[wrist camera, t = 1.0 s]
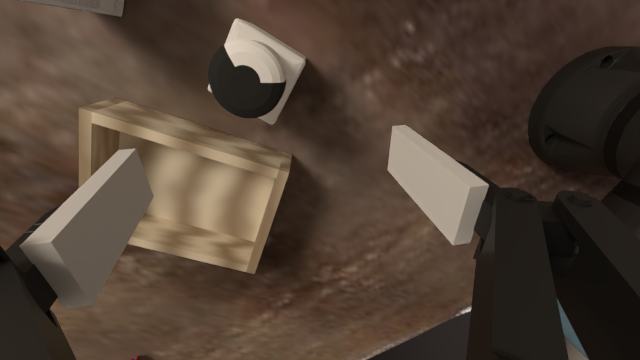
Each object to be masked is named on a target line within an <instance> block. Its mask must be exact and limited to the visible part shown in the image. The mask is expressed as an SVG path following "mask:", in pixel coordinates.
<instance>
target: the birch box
mask: <svg viewBox="0 0 640 360" xmlns="http://www.w3.org/2000/svg"><path fill="white" fill-rule="evenodd" d="M125 149H136V150H137V153H138V155H139V158H140V161H141V163H142V166H143V169H144V171H145V174H146V177H147V179H148V182H149V185H150V187H151V190H152V193H153V195H154V197H153V199H152V201H151V203H150V204H149V206H148V208H147V210H146V211H145V213H144V215H143V217H142V218H141V220H140V222H139V224H138V225H137V227H136V229H135V231H134V233H133V234H132V236H131V238H130V240H129V241H128V243H127V244H131V245H135V246H140V247H144V248H148V249H152V250H156V251H160V252H165V253H169V254H173V255H177V256H181V257H186V258H190V259H194V260H198V261H202V262H206V263H211V264H215V265H219V266H223V267H227V268H231V269H236V270H240V271H244V272H248V273H252V274H255V272H256V269H257V266H258V263H259V260H260V257H261V254H262V251H263V248H264V245H265V242H266V239H267V236H268V234H269V231H270V228H271V225H272V222H273V219H274V216H275V213H276V210H277V207H278V204H279V201H280V198H281V195H282V193H283V190H284V187H285V184H286V181H287V178H288V175H289V171H290V165H291V159H292V154H290V153H286V152H283V151H280V150H277V149H274V148H271V147H268V146H265V145H262V144H259V143H255V142H252V141H249V140H246V139H243V138H240V137H237V136H234V135H231V134H227V133H224V132H221V131H218V130H215V129H212V128H209V127H206V126H203V125H199V124H196V123H193V122H190V121H187V120H184V119H181V118H178V117H175V116H172V115H168V114H165V113H162V112H159V111H156V110H153V109H150V108H147V107H144V106H140V105H137V104H134V103H131V102H128V101H125V100H122V99H119V98H113V99H109V100H105V101H102V102H98V103H94V104H91V105H87V106H83V107H80V108H79V188H80V187H81V186H82V185H83V184H84V183H85V182H86V181H87V180H88V179H89V178H90V177H91V176H92V175H93V174H94V173H95V172H96V171H97V170H98V169H99V168H100V167H102V166H103V165H104V164H105V163H106V162H107V161H108V160H109V159H110V158H111V157H112V156H113V155H114V154H115V153H116V152H117V151H118V150H125Z"/></svg>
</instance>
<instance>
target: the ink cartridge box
mask: <svg viewBox="0 0 640 360" xmlns="http://www.w3.org/2000/svg"><path fill="white" fill-rule="evenodd" d="M18 1H24V2H31V3H37V4H43V5H49V6H56V7H62V8H68V9H75V10H81V11H88V12H94V13H100V14H107V15H112V16H118V17H121V16H122V14H123V7H124V0H18Z"/></svg>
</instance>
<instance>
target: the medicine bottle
mask: <svg viewBox="0 0 640 360" xmlns="http://www.w3.org/2000/svg"><path fill="white" fill-rule="evenodd" d="M305 63H306V57H305V56H304V55H302V54H301V53H299V52H298V51H296V50H294V49H293V48H291V47H289V46H288V45H286V44H285V43H283V42H281V41H280V40H278V39H277V38H275V37H273V36H272V35H270V34H269V33H267V32H265V31H264V30H262V29H261V28H259V27H257V26H256V25H254V24H252V23H249V22H247V21H244V20H241V19H238V18H237V19H235V20H234V22H233V24H232V27H231V30H230V32H229V35H228V37H227V40H226V42H225V44H224V45H223V46H221V47H220V48H219V49H218V50H217V51H216V52H215V54H214V55H213V57H212V59H211V62H210V65H209V71H208V78H209V85H208V91H210V92H211V93H213V95H214V97H215V98H216V100H217V101H218V102H219V104H220V105H221V106H222V107H223V108H225V109H226V110H227V111H229V112H230V113H232V114H234V115H236V116H239V117H243V118H257V117H258V118H260V119H261V120H263V121H265V122H267V123H269V124H271V125H273V124H274V123H275V122H276V120H277V118H278V116H279V114H280V112H281V110H282V108H283V107H284V105H285V103H286V101H287V99H288V97H289V95H290V93H291V91H292V89H293V87H294V85H295V83H296V81H297V79H298V77H299V75H300V74H301V72H302V70H303V68H304V66H305Z"/></svg>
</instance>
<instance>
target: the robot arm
mask: <svg viewBox="0 0 640 360" xmlns="http://www.w3.org/2000/svg"><path fill="white" fill-rule="evenodd" d="M528 136H529V141H530V144H531V147H532V149H533V150H534V152H535V153H536V154H537V155H538V156H539V157H540V158H541V159H542V160H544V161H546V162H547V163H549V164H552V165H554V166H556V167H558V168H560V169H563V170H566V171H571V172H579V173H588V174H596V175H604V176H613V177H617V178H619V179H622V180H621V181H620V182H619V183H618V184H617V185H616V186H615V187H614V189H613V190H612V191H610V192H609V193H608V194H607V195H606V196H605V197H604V198H603V199H602V200H601V201H599V200H597V199H595V198H593V197H591V196H590V195H588V194H585V193H584V194H583V193H582V192H574V191H561V192H559V193H558V194H557V196H556V198H555V200H554V202H545V201H538V200H537V199H536V197H534V196H533V195H532V194H530V193H528V192H526V191H523V190H520V189H516V188H509V187H508V188H500V187H499V186H497V185H496V184H494V183H493V182H491V181H490V180H488V179H487V178H486V177H484V176H483V175H482V176H481V174H480V173H478V172H477V171H475V170H474V169H473V168H471V167H470V166H468V165H467V164H464V163H462V162H459V161H457V160H454V159H452V158H451V157H450V156H448V155H447V154H445V153H444V152H443V151H441V150H440V149H438V148H437V147H436V146H434V145H433V144H431V143H430V142H429V141H427V140H426V139H424V138H423V137H422V136H420V135H419V134H417V133H416V132H415V131H413V130H412V129H410V128H409V127H408V126H406V125H400V126H393V127H392V136H391V145H390V153H389V162H388V171H389V172H390V173H391V175H392V176H393V177H394V178H395V179H396V180H397V181H398V183H399V184H400V185H401V186H402V187H403V188H404V190H405V191H406V192H407V193H408V194H409V195H410V196H411V198H412V199H413V200H414V201H415V202H416V203H417V205H418V206H419V207H420V208H421V209H422V210H423V211H424V213H425V214H426V215H427V216H428V217H429V218H430V220H431V221H432V222H433V223H434V224H435V225H436V226H437V228H438V229H439V230H440V231H441V232H442V233H443V235H444V236H445V237H446V238H447V239H448V240H449V241H450V243H451V244H452V245H459V244H465V243H470V241H471V238H472V235H473V232H474V231H475V232H476V233H477V234H478V235H479V236H480V240H479V243H478V246H477V249H476V251H475V254H474V257H473V258H474V259H476V269H475V279H474V289H473V298H472V308H471V318H470V329H469V337H468V347H467V357H466V360H568V354H567V349H566V343H565V339H564V336H565V337H566V338H567V339H568V340H569V341H570V342H571V343H572V344H573V346H575V348H576V349H577V350H578V351H580V352H581V353H582V354H583V355H584V356H585V357H586V358H587V359H588V360H640V207H639V206H640V47H625V46H613V47H604V48H600V49H596V50H593V51H591V52H588V53H586V54H584V55H582V56H580V57H578V58H576V59H574V60H573V61H571V62H570V63H568V64H567V65H566V66H564V67H563V68H562V69H561V70H560V71H559V72H557V73H556V74H555V75H554V76H553V77H552V78H551V80H550V81H549V82H548V83H547V84H546V86H545V87H544V88H543V90H542V91H541V93H540V94H539V96H538V98H537V100H536V102H535V104H534V106H533V108H532V111H531V114H530V118H529V125H528ZM153 197H154V195H153V193H152V190H151V187H150V185H149V182H148V179H147V177H146V174H145V171H144V169H143V166H142V163H141V161H140V158H139V155H138V153H137V150H136V149H125V150H118V151H117V152H116V153H115V154H114V155H113V156H112V157H111V158H110V159H109V160H108V161H107V162H106V163H105V164H104V165H103V166H102V167H100V168H99V169H98V170H97V171H96V172H95V173H94V174H93V175H92V176H91V177H90V178H89V179H88V180H87V181H86V182H85V183H84V184H83V185H82V186H81V187H80V188H79V189H78V190H77V191H76V192H75V193H74V194H73V195H72V196H71V197H70V198H68V199H67V200H66V201H65V202H64V203H63V204H62V205H59V206H58V207H56V208H54V209H53V210H51V211H49V212H48V213H46V214H44V215H43V216H42V217H41V218H40V219H39V220H38V221H37V222H36V223H35V225H33V226H32V227H31V228H29V229H28V230H27V233H24V234H23V235H22V236H21V237H20V238H19V239H18V240H17V241H16V242H14V243H13V244H12V245H11V246H10V247H9V248H8V249H7V250H6V251H4V250H3V248H2V247H1V246H0V360H76V358H75V356H74V354H73V352H72V350H71V348H70V345H69V343H68V341H67V339H66V337H65V335H64V333H63V331H62V329H61V327H60V325H59V323H58V321H57V318H56V316H55V315H54V313H53V312H52V311H51V310H50V307H51V306H52V304H53V303H54V301H55V300H56V299H57V298H58V299H59V300H60V302H61V303H62V305H63V306H64V307H65V309H72V308H78V307H84V306H90V305H93V303H94V301H95V300H96V298H97V296H98V294H99V293H100V291H101V289H102V287H103V286H104V284H105V282H106V280H107V278H108V277H109V275H110V273H111V271H112V270H113V268H114V266H115V264H116V263H117V261H118V259H119V257H120V256H121V254H122V252H123V250H124V248H125V247H126V245H127V243H128V241H129V240H130V238H131V236H132V234H133V233H134V231H135V229H136V227H137V225H138V224H139V222H140V220H141V218H142V217H143V215H144V213H145V211H146V210H147V208H148V206H149V204H150V203H151V201H152V199H153ZM629 201H630V202H629ZM631 202H632V203H631ZM633 203H634V204H633ZM635 204H636V205H635ZM637 205H638V206H637Z"/></svg>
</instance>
